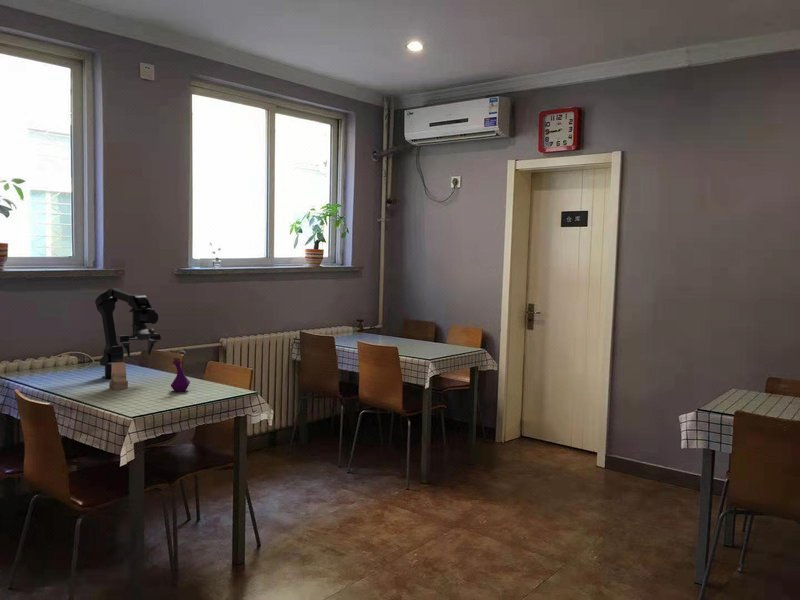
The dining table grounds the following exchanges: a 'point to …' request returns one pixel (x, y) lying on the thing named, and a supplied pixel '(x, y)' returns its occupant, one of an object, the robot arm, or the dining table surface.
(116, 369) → the cube
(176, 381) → the purple faceted vase
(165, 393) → the dining table surface
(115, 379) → the tower mid
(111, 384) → the tower base
